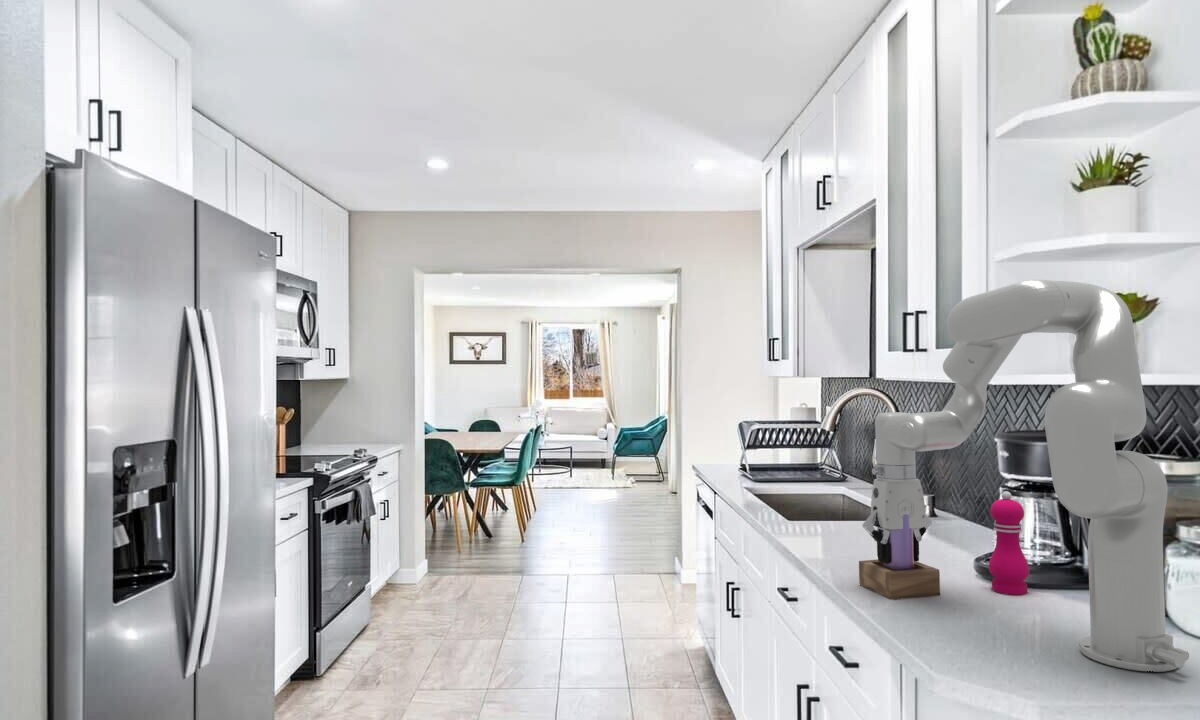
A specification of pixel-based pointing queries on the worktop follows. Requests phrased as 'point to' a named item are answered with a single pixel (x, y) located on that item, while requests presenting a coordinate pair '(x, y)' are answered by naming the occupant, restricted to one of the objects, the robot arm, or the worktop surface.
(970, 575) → the worktop surface
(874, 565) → the holder
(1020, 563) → the pepper mill
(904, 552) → the beverage can
